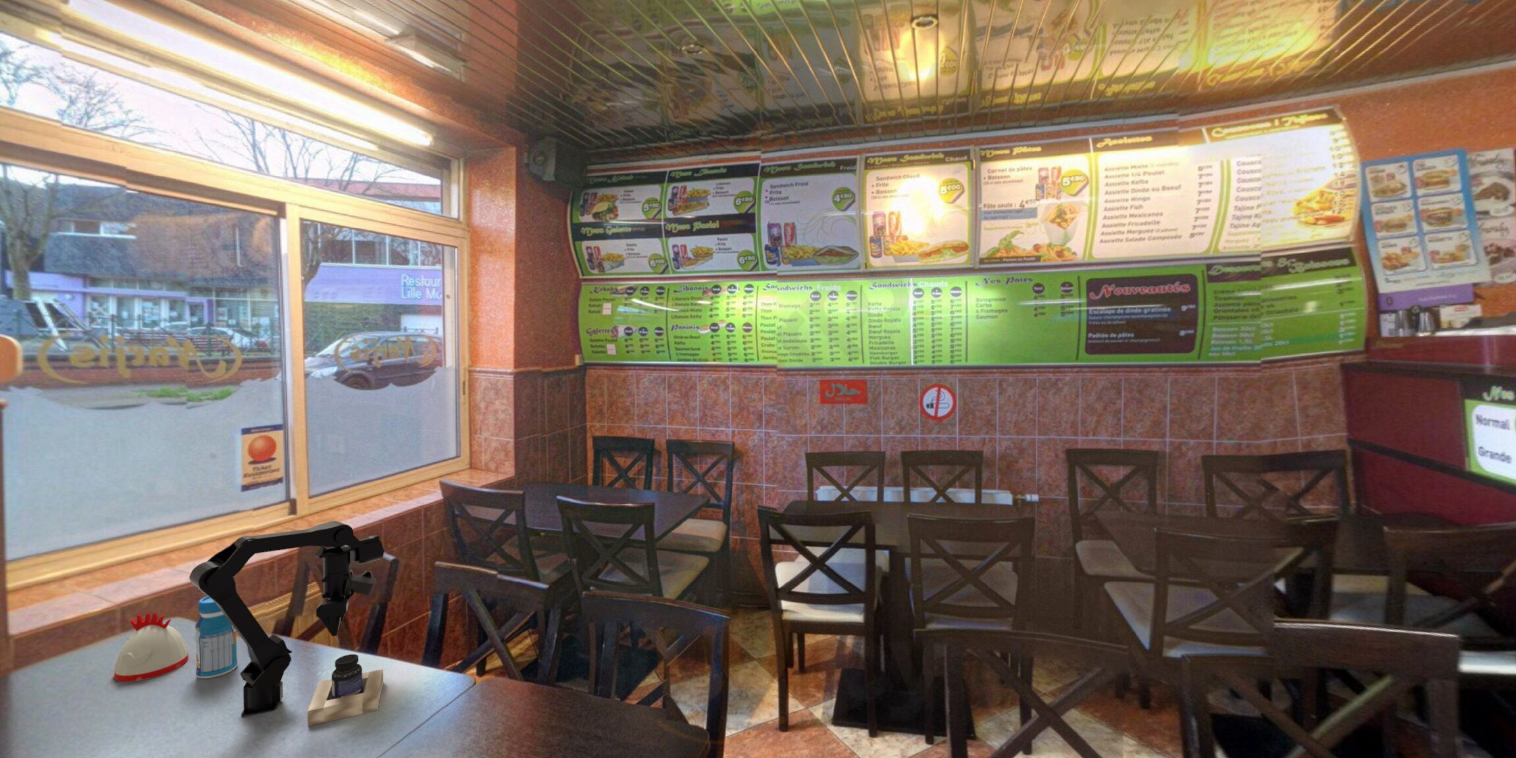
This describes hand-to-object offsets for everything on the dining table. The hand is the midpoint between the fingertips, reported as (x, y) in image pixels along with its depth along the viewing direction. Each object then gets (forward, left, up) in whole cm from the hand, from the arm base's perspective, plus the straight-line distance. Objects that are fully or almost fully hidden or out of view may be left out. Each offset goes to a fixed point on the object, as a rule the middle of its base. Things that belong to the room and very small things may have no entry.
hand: (337, 628), depth 155 cm
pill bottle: (+4, -15, -13) cm, 20 cm away
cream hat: (-45, +27, -13) cm, 54 cm away
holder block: (+4, -15, -13) cm, 20 cm away
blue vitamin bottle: (-29, +17, -13) cm, 36 cm away
